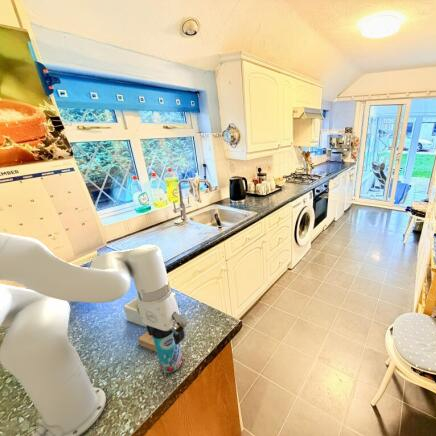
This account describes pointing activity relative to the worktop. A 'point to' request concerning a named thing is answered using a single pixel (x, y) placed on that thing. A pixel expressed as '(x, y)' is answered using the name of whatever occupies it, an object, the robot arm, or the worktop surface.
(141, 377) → the worktop surface
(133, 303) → the white open box
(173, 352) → the beverage can
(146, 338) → the flat wooden block
